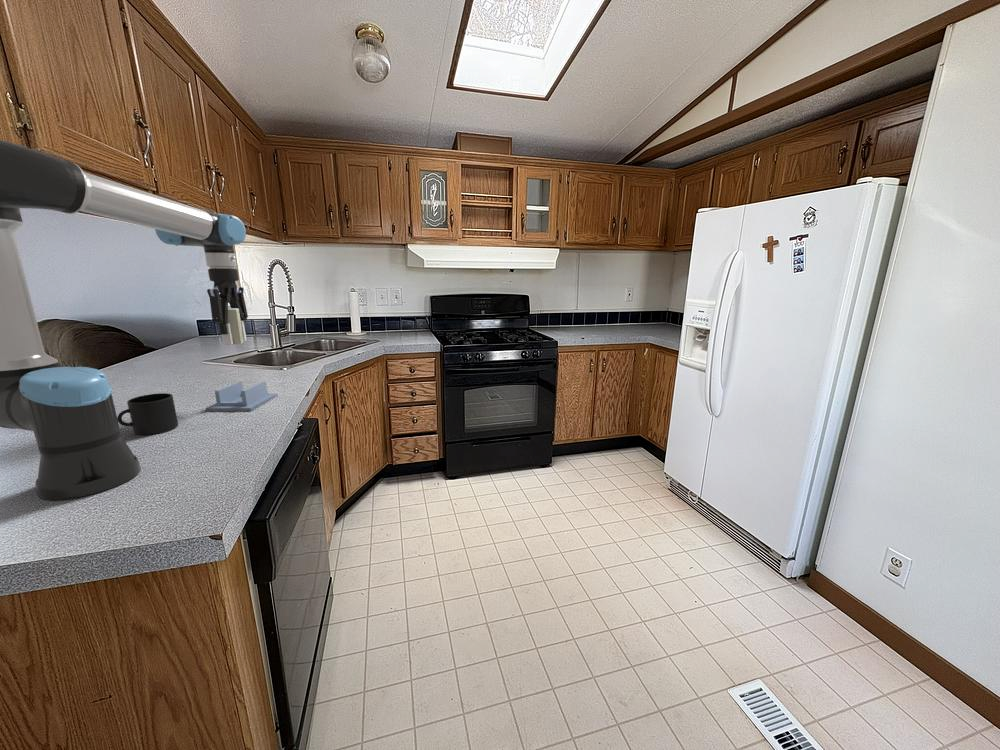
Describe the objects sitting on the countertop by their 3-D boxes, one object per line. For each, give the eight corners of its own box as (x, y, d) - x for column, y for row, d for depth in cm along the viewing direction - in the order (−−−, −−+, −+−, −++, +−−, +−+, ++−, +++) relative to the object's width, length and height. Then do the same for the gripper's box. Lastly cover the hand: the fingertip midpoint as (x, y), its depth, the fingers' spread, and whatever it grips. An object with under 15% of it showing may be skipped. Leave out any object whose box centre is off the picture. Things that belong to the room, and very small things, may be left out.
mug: (119, 432, 109) (111, 400, 107) (174, 420, 118) (168, 391, 115) (123, 441, 103) (115, 408, 101) (181, 428, 111) (175, 397, 109)
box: (228, 342, 130) (223, 308, 127) (244, 341, 131) (239, 307, 129) (225, 345, 125) (219, 309, 122) (241, 344, 127) (236, 309, 124)
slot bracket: (251, 411, 126) (248, 392, 125) (206, 411, 126) (202, 392, 124) (277, 396, 142) (275, 379, 140) (237, 396, 141) (235, 379, 140)
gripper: (213, 267, 113) (227, 348, 119) (253, 268, 132) (263, 337, 137) (186, 267, 113) (202, 348, 119) (230, 267, 132) (241, 337, 137)
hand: (235, 342), depth 128 cm, fingers closed on box, 6 cm apart
